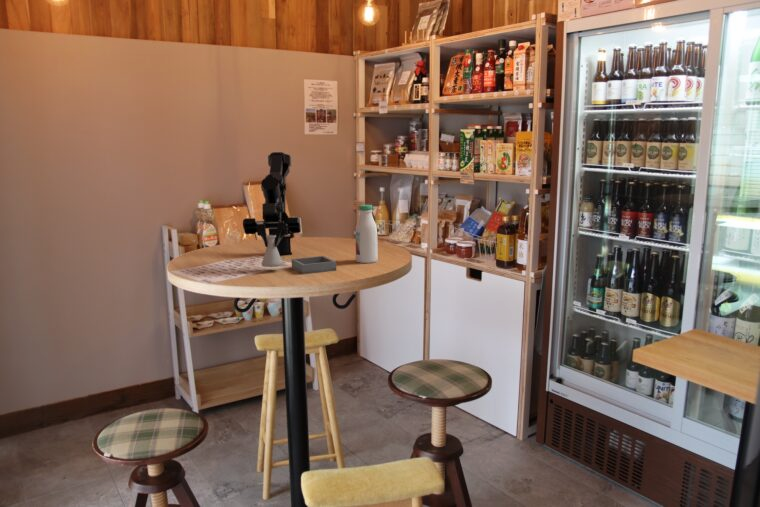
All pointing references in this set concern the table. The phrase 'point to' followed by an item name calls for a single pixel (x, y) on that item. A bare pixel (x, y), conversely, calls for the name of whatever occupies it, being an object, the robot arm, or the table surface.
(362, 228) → the milk bottle
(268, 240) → the flask
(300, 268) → the box
